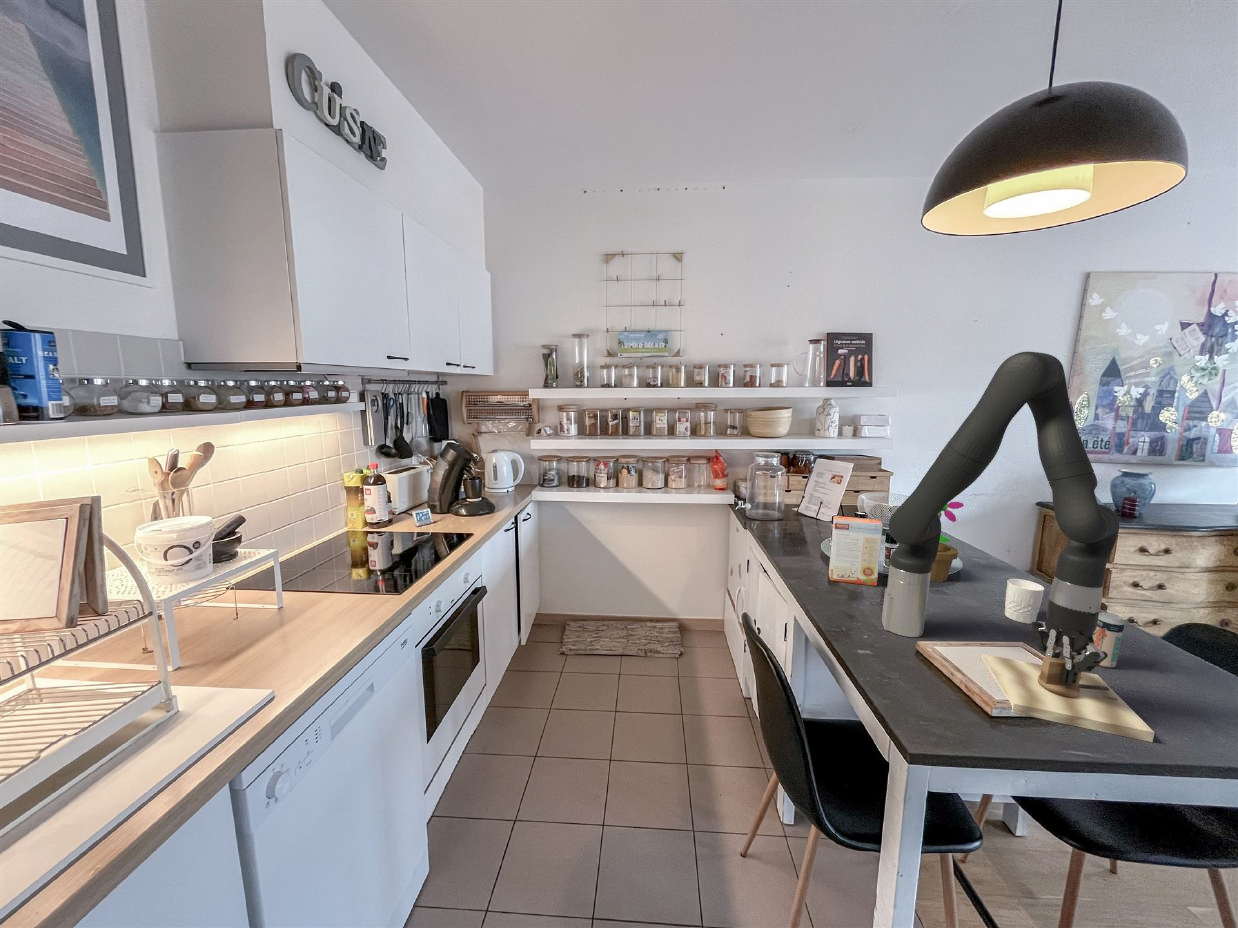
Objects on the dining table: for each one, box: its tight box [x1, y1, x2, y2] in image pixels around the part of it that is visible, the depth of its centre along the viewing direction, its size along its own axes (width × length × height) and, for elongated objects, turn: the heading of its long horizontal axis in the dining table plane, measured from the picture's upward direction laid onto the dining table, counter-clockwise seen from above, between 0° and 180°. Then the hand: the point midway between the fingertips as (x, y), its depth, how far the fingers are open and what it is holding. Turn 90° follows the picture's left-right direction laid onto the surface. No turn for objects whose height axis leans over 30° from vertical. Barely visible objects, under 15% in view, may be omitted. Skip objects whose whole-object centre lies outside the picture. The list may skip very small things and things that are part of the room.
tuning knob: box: [1038, 656, 1109, 697], centre depth 99 cm, size 12×6×6 cm, turn 82°
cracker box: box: [828, 515, 884, 587], centre depth 157 cm, size 14×6×21 cm, turn 71°
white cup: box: [1004, 578, 1045, 625], centre depth 134 cm, size 8×8×10 cm
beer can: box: [1093, 611, 1126, 668], centre depth 112 cm, size 5×5×12 cm
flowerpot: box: [930, 501, 965, 583], centre depth 161 cm, size 14×14×30 cm
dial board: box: [981, 653, 1156, 743], centre depth 100 cm, size 21×19×2 cm
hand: (1059, 679), depth 100 cm, fingers closed on tuning knob, 2 cm apart
